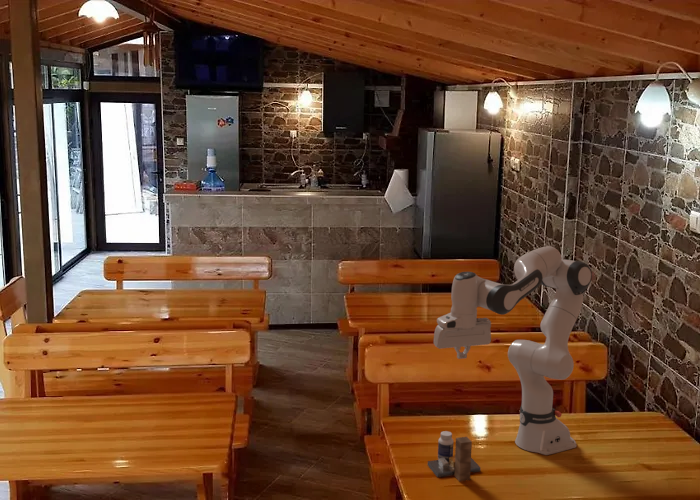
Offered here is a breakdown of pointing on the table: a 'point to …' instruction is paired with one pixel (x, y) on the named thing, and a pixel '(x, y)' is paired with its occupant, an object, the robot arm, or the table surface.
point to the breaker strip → (448, 466)
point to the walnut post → (463, 458)
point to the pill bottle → (445, 445)
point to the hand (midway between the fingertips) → (461, 358)
